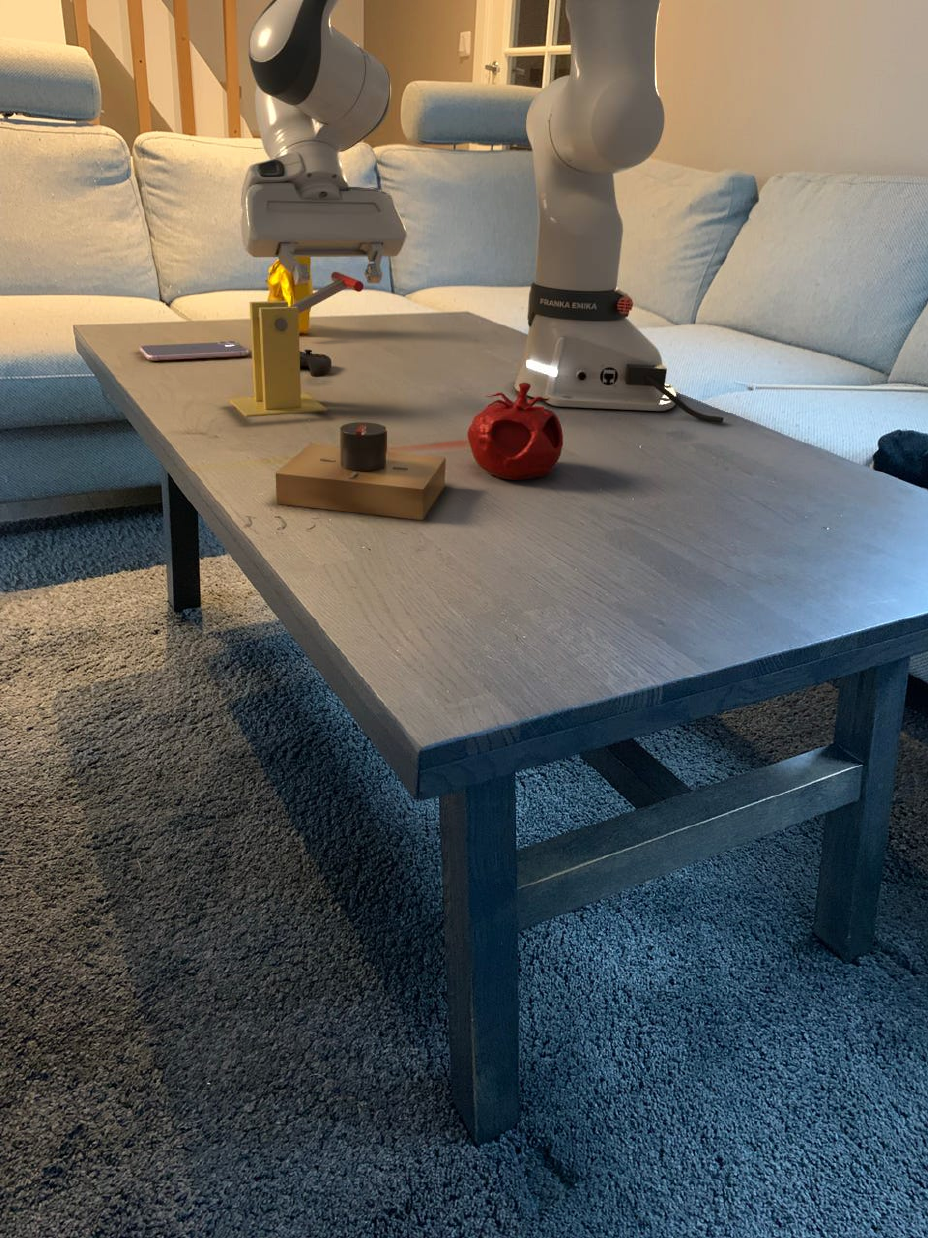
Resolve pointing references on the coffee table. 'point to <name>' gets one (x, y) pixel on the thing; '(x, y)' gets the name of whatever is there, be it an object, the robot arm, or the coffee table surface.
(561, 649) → the coffee table surface
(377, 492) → the knob base block
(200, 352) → the mobile phone
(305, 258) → the figure statuette
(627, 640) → the coffee table surface
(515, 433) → the red hollowed tomato
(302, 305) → the lever
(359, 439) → the dial knob
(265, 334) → the yellow upright double-plate block
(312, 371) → the gaming controller
